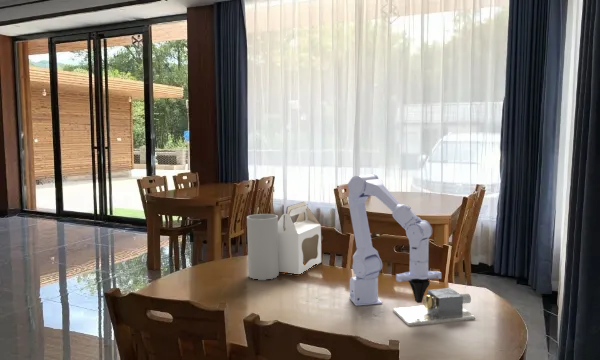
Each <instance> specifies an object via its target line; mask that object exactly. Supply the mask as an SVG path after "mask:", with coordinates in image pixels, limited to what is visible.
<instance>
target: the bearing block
mask: <svg viewBox="0 0 600 360" xmlns="http://www.w3.org/2000/svg"><path fill="white" fill-rule="evenodd" d="M426 291H427V292H426V293H427V294H426V295H431V296H432V297H436V306H434V307H433V309H426V308H425V307H424V305H416V306H415V305H414V306H405V307H394V308H392V310H393V311H392V312H393V313H394V314H396V315H397V317H399V319H400V320H402V322H404V323H405V324H406V325H407V326H408V327H413V326H422V325H432V324H441V323H442V324H443V323H451V322H452V323H453V322H460V321H461V322H463V321H471V320H476V319H475V317H476V316H475V315H473V314H472V313H471V312H470V311H468V310H466V309H465V308H464V306H463V305H464V304H463V296H462V295H460V293H458V292H457V291H456V290H454V289H452V288H450V287H446V288H444V287H443V288H434V289H433V288H432V289H426Z"/></svg>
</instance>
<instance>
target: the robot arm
mask: <svg viewBox="0 0 600 360" xmlns="http://www.w3.org/2000/svg"><path fill="white" fill-rule="evenodd" d="M347 187H348V196H347V197H348V198H347V201H348V207H349V213H350V220H351V224H352V230H353V235H354V242H355V246H356V250H355V252H354V254H353V255H352V266H351V267H352V271H353V272H352V273H353V274H355V275H354V276H351V277H350V279H349V298H348V299H350V300H351V302H353V304H354V305H355V306H356V307H358V306H368V305H369V306H370V305H379V304H383V302H382V300H381V299H380V298H379V275H380V272H381V270H382V269H383V261H382V259H381V258H380V255H379V251H378V250H377V249H376V248H375V247H373V241H372V236H371V231H370V226H369V219H368V216H367V215H368V214H367V209H366V201H367V200H368V198H369V197H370V196H373V197H375V198H377V199H378V200H379V201H380V202H381V203H382V204H384V205H385V206H386V207H387V208H388V209H389V210H390V211H391V213H392V214H391V215H392V218H393V219H394V221H396V222H397V223H398V224H399V225H400V226H401V227H402V228H403V229H404V230H405V234H406V237H407V239H408V244H409V271H405V272H402V273H395V280H396V281H397V282H398V283H402V282H406V281H408V283H409V285H410V288H411V290H412V293H413V296H414V301H415V302H416V303H418V304H421V303H423V297H424V295H425V293H426V291H427V290H428V287H429V286H430V281H429V280H430V279H438V280H439V279H440V280H441V279H442V272H441V271H438V270H429V247H430V246H429V245H430V241H429V239H430V238H431V236H432V234H433V227H432V225H431V224H430V223H429V221H427V220H425V219H421V217H420V216H417V214H415V212H413V210H412V208H411V206H409V205H407V204H405V203H403V204H401V203H400V202H399V201H398V200H397V199H396V198H395V197H394V196H393V194H392V193H391V192H390V190H389V189H387V187H386V186H385V185H384V182H383V180H382V179H380V178H379V176H378V175H376V173H369V174H364V175H354V176H352V177H351V178H350V180H349V181H348V183H347Z"/></svg>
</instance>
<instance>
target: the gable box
mask: <svg viewBox="0 0 600 360" xmlns="http://www.w3.org/2000/svg"><path fill="white" fill-rule="evenodd" d="M308 206H309V204H306V202H305V201H302V202H298V203H295V204H292V205H291V204H290V205H288V206H287V207H286V212H285V213H283V214H282V215H281V216H280V218H278V254H279V271H280V272H288V273H294V274H301V273H302V274H304V273H305V272H304V271H306V270H307V271H309V270H310V269H309V268H311V267H312V266H313V265H315V264H317V265H319V264H321V263H322V225H321V223H320V222H319V220H318V219H317V217H316V216H315V215H314V213H313V212H312V210H311V209H310V208H308ZM296 215H298V217H297V218H296V221H295V222H293V219H292V217H294V216H296ZM303 262H305V263H306V264H305V265H304V264H303ZM312 268H313V267H312ZM312 268H311V269H312ZM308 269H309V270H308ZM307 271H306V272H307ZM303 272H304V273H303ZM302 274H301V275H302Z"/></svg>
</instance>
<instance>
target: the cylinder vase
mask: <svg viewBox="0 0 600 360" xmlns="http://www.w3.org/2000/svg"><path fill="white" fill-rule="evenodd" d="M278 217H279V216H278V215H276V214H273V213H259V214H249V215H247V216H246V228H247V229H246V232H247V235H246V237H247V238H246V239H247V262H248V263H247V265H248V267H247V268H248V270H247V272H248V278H249V279H251V278H253V279H252V280H254V279H258V280H257V281H267V280H266V279H271V280H274V279H277V278H278V277H279V274H280V273H279V254H278V221H279V218H278ZM277 276H278V277H277ZM273 278H274V279H273Z"/></svg>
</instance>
